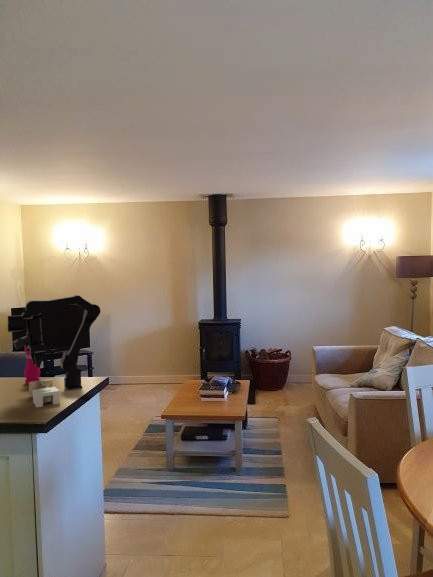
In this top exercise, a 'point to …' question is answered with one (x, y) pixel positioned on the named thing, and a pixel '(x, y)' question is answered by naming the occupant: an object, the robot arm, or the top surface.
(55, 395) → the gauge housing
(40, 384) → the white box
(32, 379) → the pepper mill
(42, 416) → the top surface
